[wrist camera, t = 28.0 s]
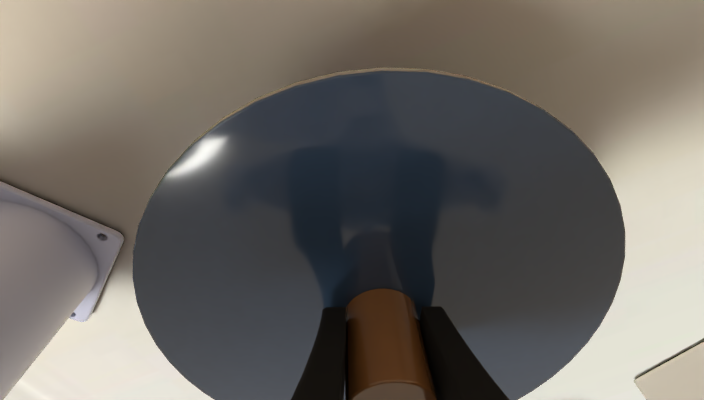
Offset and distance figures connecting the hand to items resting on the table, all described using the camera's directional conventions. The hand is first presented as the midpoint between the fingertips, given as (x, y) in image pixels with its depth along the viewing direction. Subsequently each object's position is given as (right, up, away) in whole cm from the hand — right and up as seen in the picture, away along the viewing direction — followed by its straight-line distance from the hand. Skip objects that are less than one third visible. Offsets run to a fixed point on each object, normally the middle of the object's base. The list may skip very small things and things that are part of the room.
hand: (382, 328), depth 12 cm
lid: (0, +1, +1) cm, 1 cm away
